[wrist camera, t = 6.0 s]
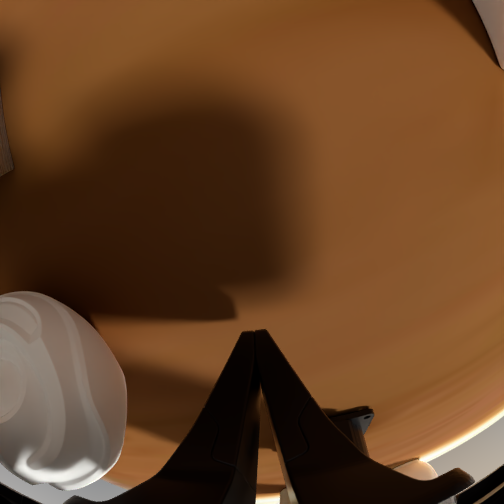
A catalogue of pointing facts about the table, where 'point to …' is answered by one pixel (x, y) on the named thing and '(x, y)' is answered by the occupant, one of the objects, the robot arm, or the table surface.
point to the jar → (493, 24)
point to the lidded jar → (417, 470)
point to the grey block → (4, 146)
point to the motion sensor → (57, 394)
